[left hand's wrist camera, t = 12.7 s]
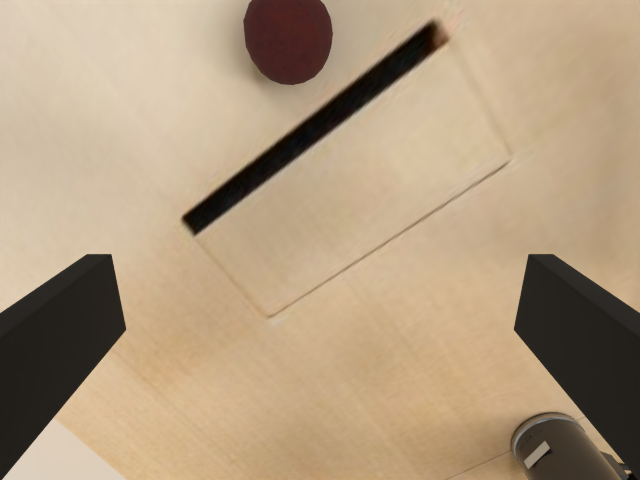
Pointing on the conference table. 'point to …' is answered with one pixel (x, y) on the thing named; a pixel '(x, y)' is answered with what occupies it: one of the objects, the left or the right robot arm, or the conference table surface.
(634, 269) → the conference table surface
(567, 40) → the conference table surface
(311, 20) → the dark red round piece
